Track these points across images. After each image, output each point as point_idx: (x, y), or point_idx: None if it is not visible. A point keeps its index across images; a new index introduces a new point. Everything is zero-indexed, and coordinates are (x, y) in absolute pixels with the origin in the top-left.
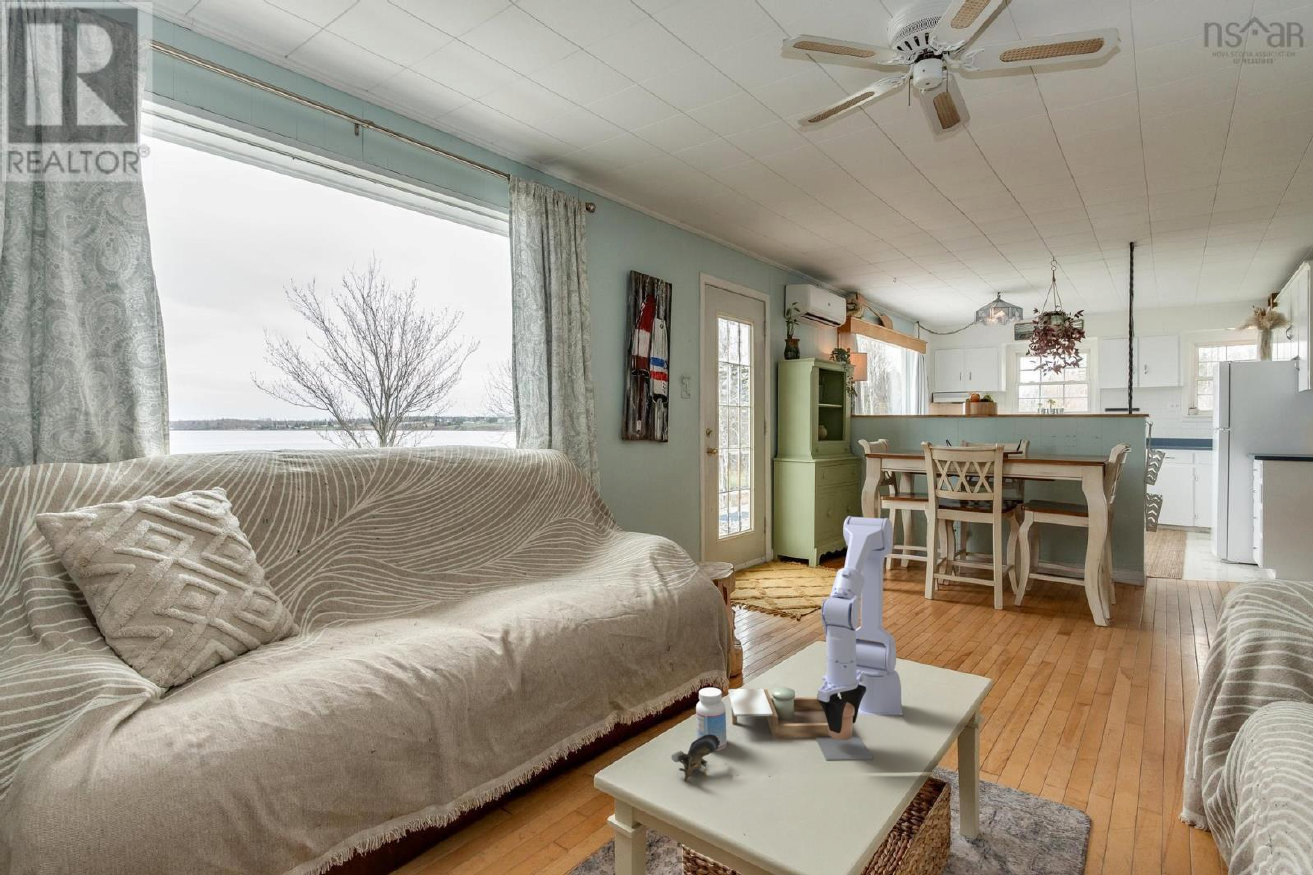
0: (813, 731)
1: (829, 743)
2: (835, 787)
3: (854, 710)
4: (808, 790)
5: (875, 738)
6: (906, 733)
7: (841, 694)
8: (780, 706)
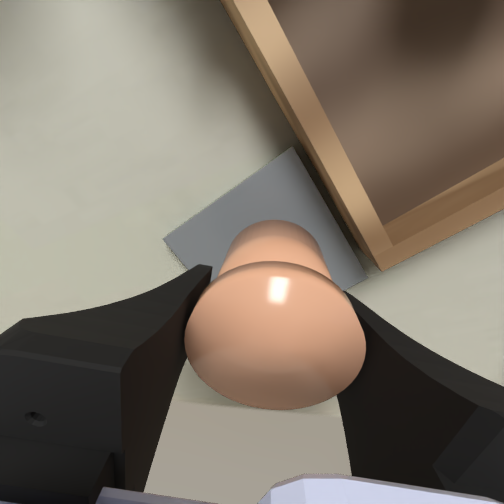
0: (301, 135)
1: (270, 212)
2: (76, 291)
3: (283, 407)
4: (8, 241)
5: (396, 305)
6: (459, 361)
7: (404, 371)
8: None
